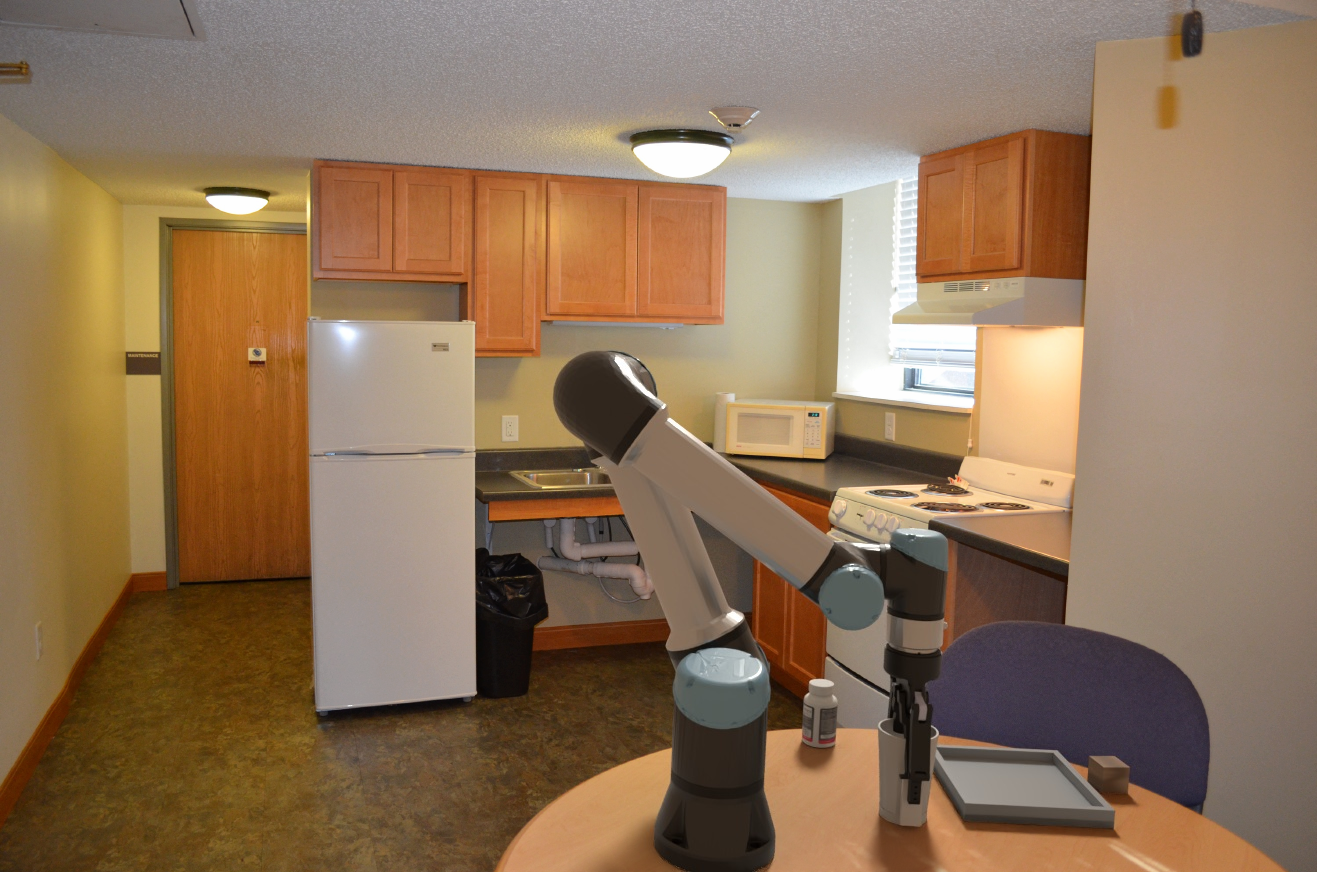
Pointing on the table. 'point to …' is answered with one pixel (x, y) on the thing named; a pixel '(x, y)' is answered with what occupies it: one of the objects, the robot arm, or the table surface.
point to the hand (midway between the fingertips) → (902, 809)
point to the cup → (897, 770)
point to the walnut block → (1108, 774)
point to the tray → (1019, 787)
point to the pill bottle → (820, 714)
